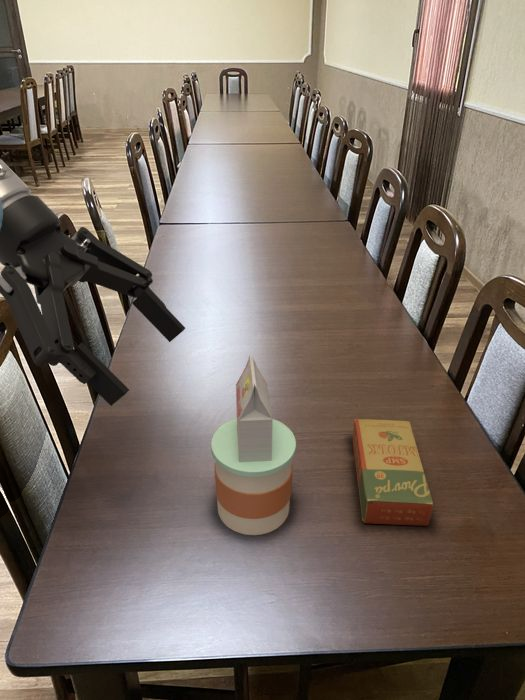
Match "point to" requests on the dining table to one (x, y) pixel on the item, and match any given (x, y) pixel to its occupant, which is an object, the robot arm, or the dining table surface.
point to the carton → (390, 474)
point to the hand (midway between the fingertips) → (151, 364)
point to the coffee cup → (253, 481)
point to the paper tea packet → (253, 415)
